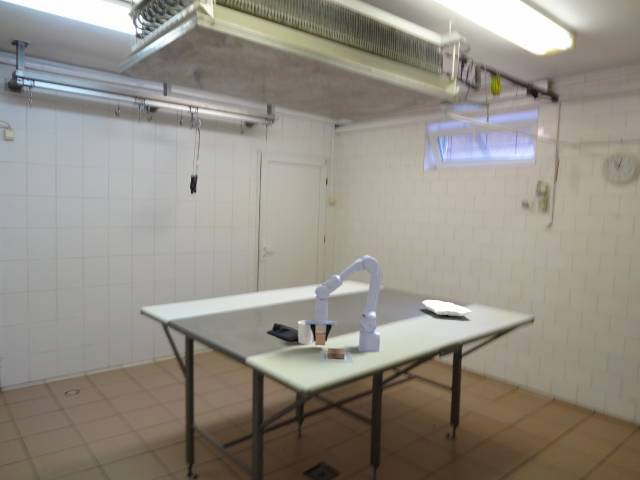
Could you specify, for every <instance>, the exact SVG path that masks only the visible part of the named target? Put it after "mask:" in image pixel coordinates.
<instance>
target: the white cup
mask: <svg viewBox="0 0 640 480" xmlns="http://www.w3.org/2000/svg"><path fill="white" fill-rule="evenodd" d="M305 320H306V319H305ZM305 320H303V319H302V320H299V321H298V322H297V330H298V340H297V341H298V343H299V344H303V345H310V344H312V343H313V342H314V337H313V333H312V330H311V328H310V325H305Z"/></svg>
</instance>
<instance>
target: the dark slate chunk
mask: <svg viewBox="0 0 640 480" xmlns="http://www.w3.org/2000/svg"><path fill="white" fill-rule="evenodd" d="M266 333H267V334H270V335H272V336H275V337H276V338H278V337H279V338H280V339H282V340H283V339H284V340H286V341H288V342H289V341H290V342H292V341H293V342H294V341H298V329H296V328H293V327H291V326H288V325H284V324H281V323H273V327H272V328H271V330H267V331H266Z"/></svg>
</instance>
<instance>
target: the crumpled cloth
mask: <svg viewBox="0 0 640 480" xmlns="http://www.w3.org/2000/svg"><path fill="white" fill-rule="evenodd" d="M421 304H422V305H424V306H425V308H426V309H428V310H429V311H430V312H432V313H434V314H436V315H437V316H439V315H440V317H441V316H446V315H448V317H464V316H467V315H469V314H472V313H473V312H472V310H470V309H469V308H467V307H464V306H461V305H458V304H454V303H453V302H449V301H447V302H445V301H443V300H439V299H437V300H436V299H434V300H433V299H425V300H423V301H421Z"/></svg>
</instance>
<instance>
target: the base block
mask: <svg viewBox="0 0 640 480" xmlns="http://www.w3.org/2000/svg"><path fill="white" fill-rule="evenodd" d="M327 351H328V359H344V358H345V353H344V352H345V350H344V348H333V347H331V348H329V347H328V348H327Z"/></svg>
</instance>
